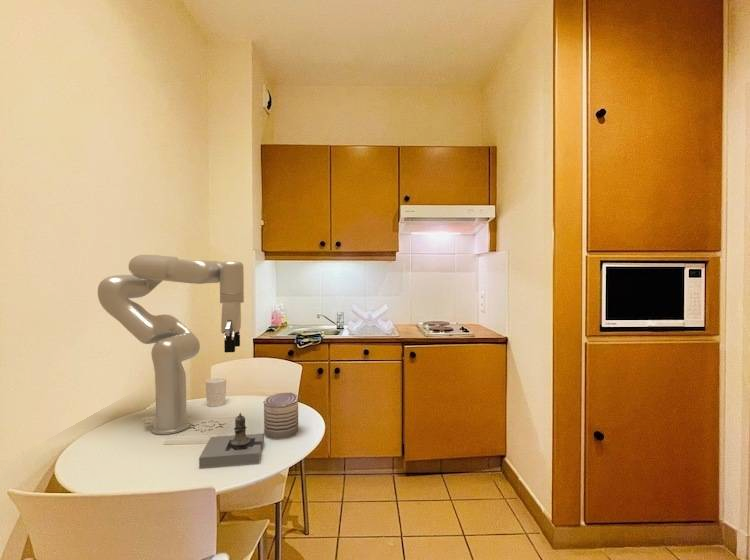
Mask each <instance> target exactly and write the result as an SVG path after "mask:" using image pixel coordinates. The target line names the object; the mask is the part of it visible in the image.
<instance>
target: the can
mask: <svg viewBox="0 0 750 560" xmlns="http://www.w3.org/2000/svg"><path fill="white" fill-rule="evenodd" d="M299 396H300V395H298V394H295V393H293V392H278V393H274V394H272V395H269V396H266V397H265V398H264V400H263V402H262V403H263V424H264V425H263V433H264V437H266V439H270V440H275V441H277V440H281V441H282V440H288V439H290V438H292V437H295V436H297V434H298V432H299Z"/></svg>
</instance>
